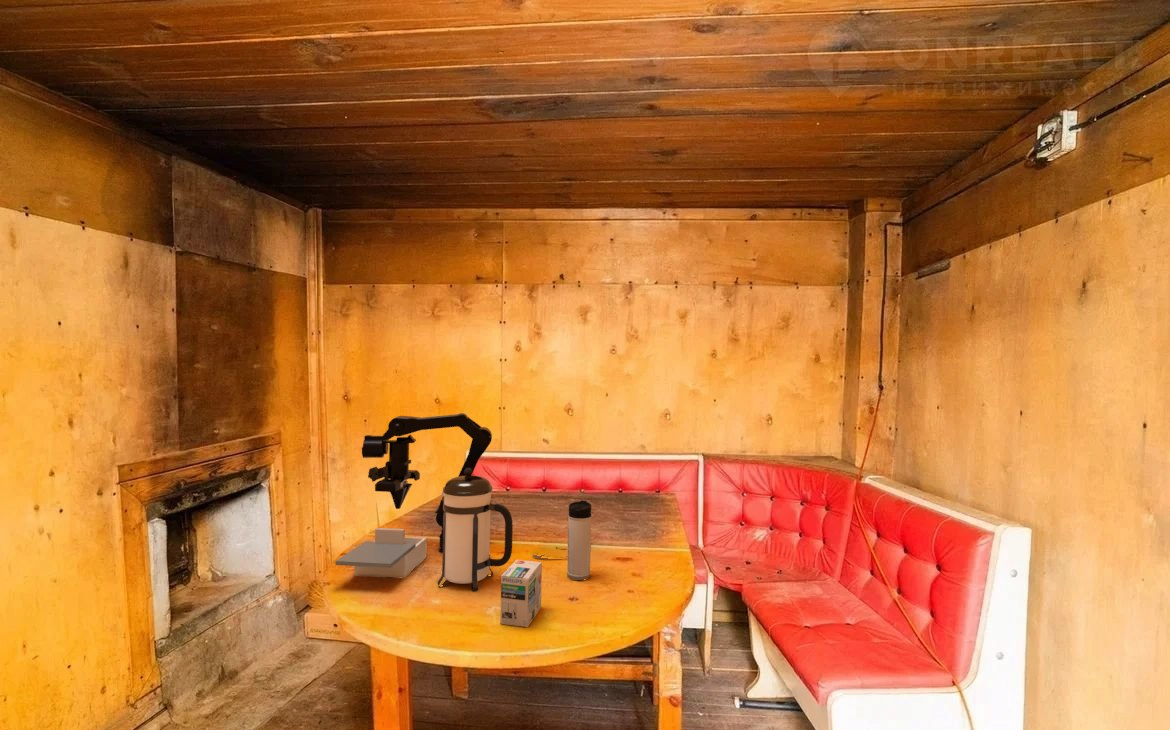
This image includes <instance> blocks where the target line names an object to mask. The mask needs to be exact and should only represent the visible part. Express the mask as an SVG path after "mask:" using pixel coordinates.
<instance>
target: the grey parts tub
mask: <svg viewBox="0 0 1170 730" xmlns="http://www.w3.org/2000/svg"><path fill="white" fill-rule="evenodd" d="M373 541H375V539H373ZM427 541H428V540H427V537H417V536H414V537H413V536H405V543H416V547H415V548H414V549H413V550H411V551H410V552H409V553H408V554H407V555H405V556H404V557H403V558H402V559H401V560H399V561H398V562H397V563H396V564H395V565H393V566H392V567H391V568H383V567H364V566H353V571H354V572H353V573H354V574H353V576H354V575H358V576H357V577H367V576H378V577H377V578H386V577H402V578H401V579H406V578H407V577H408V576H409V575H410V574H411V573H412V572H413V571H414V570H415V569H416V568H417V567H419V566H420V565H421V564H422V563H423V562H424V561H425V560H426V559H427V548H428V547H427V546H428V545H427V543H428V542H427ZM425 558H426V559H425ZM424 559H425V560H424ZM423 560H424V561H423ZM422 561H423V562H422ZM421 562H422V563H421ZM420 563H421V564H420ZM419 564H420V565H419ZM416 566H417V567H416ZM415 567H416V568H415ZM414 568H415V569H414ZM413 569H414V570H413ZM412 570H413V571H412ZM411 571H412V572H411ZM410 572H411V573H410ZM409 573H410V574H409ZM408 574H409V575H408ZM407 575H408V576H407ZM406 576H407V577H406ZM405 577H406V578H405Z"/></svg>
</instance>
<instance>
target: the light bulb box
mask: <svg viewBox="0 0 1170 730" xmlns="http://www.w3.org/2000/svg"><path fill="white" fill-rule="evenodd" d="M542 573H543V563H542V562H540V561H531V560H523V559H515V561H514V562H513V563H512V564H511V565H509V567H508V568H507V570H505V571H504V572H503V574H501V576H500V581H501V582H500V587H501V588H500V625H508V626H515V627H524V628H528V627H529V626H530V625H531V623H532V622H533V621H534V618H535V617H536V616H537V614H538V613H539V611H540V610H541V608H542V580H543V578H542V576H543V575H542Z"/></svg>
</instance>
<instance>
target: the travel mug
mask: <svg viewBox="0 0 1170 730" xmlns="http://www.w3.org/2000/svg"><path fill="white" fill-rule="evenodd" d="M567 521H568V522H567V523H568V526H567V528H568V529H567V548H568V549H567V567H566V568H567V571H566V572H567V573H566V574H567V576H566V577H567V578H568V577H569V578H570V580H571V579H573V580H572V581H575V580H584V579H587V578H589V577H591V555H592V554H591V552H592V551H591V550H592V549H591V547H592V546H591V545H592V537H591V536H592V504H591V503H590V502H588V500H581V499H580V500H579V501H574V502H572V503H569V505H568V520H567ZM569 578H568V579H569ZM589 579H590V578H589ZM587 580H588V579H587ZM584 581H585V580H584Z"/></svg>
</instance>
